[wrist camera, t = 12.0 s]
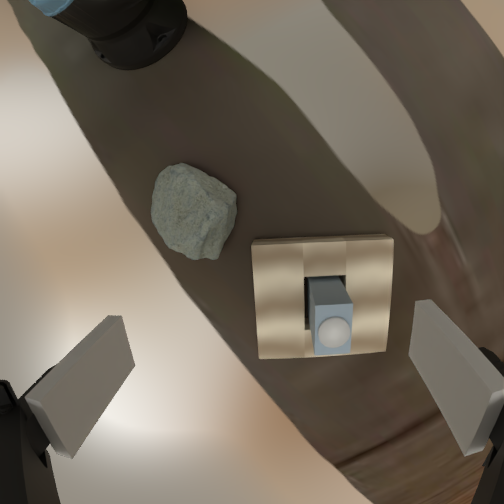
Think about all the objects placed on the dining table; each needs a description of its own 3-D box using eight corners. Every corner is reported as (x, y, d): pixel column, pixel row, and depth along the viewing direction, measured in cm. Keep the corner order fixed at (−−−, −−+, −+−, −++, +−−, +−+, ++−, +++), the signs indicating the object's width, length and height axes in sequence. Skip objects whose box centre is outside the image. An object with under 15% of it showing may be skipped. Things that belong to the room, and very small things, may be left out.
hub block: (253, 239, 44) (251, 245, 40) (384, 233, 42) (393, 239, 38) (260, 345, 48) (259, 358, 44) (378, 338, 46) (385, 351, 42)
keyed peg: (307, 312, 46) (315, 359, 33) (307, 272, 44) (316, 308, 32) (335, 311, 45) (351, 356, 33) (335, 271, 44) (354, 306, 32)
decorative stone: (265, 232, 44) (252, 189, 35) (203, 286, 42) (173, 256, 33) (208, 180, 49) (187, 137, 40) (153, 226, 47) (121, 189, 39)
